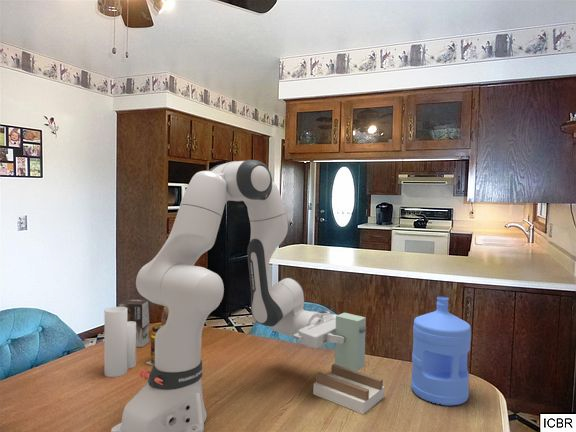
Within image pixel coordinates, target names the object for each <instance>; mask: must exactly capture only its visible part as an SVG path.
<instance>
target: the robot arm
mask: <svg viewBox="0 0 576 432" xmlns="http://www.w3.org/2000/svg"><path fill="white" fill-rule="evenodd" d="M229 201H231V202H232V201H234V202H244V204H245V206H246V207H247V214H248V218H249V223H250V225H249V226H250V239H249V243H248V245H247V264H248V273H249V282H250V283H249V284H250V293H251V294H250V295H251V296H250V297H251V298H250V312H251V315H252V317H253V320H255V322H257V323H258V324H260V325H262V326H264V327H269V328H270V329H271V330H273V331H274V332H276V333H279V334H281V335H285V336H290V337H291V336H292V338H293V339H295V340H297V341H298V342H299V343H300V344H302V345H304V346H306V347H308V348H312V349H318V348H320V347H322V346H324V345H327V344H329V343H330V344H335V343H341V344H343V343H344V342H346V337H345V336H342V335H339V336H338V335H335V334H336V316H337V315H338V314H335V313H331V312H330V311H328V310H321V311H320V310H319V311H312V310H311V311H310V310H305V309H304V308H305V291H304V288H303V286H302V285H301V284H300V283H299V281H297V280H296V279H294V278H291V277H286V278H285V277H284V278H283V279H281V280H280V281H278V282H276V283H275V284H274V285H271V277H270V261H271V259H272V256H273V254H274V253H275V252H276V250H277V249H278V247H279V246H280V245H281V244H282V242H284V240H285V238H286V236H287V234H288V231H289V230H288V229H289V228H288V227H289V224H288V222H289V221H288V218H287V214H286V213H287V212H286V209H285V204H284V202H283V199H282V196H281V193H280V190H279V188H278V186H277V184H276V183H275V182H274V181H273V177H272V174H271V172H270V170H269V168H268V167H267V165H266V164H265V163H264V162H262V161H260V160H255V159H246V160H239V161H237V160H235V161H229V162H225V163H221V164H218V165H214V166H213V167H212V168H210V169H209V170H201V171H198V172H196V173H195V174H194V175H193V176H192V177H191V179H190V182H189V183H188V185H187V186H186V189H185V191H184V194H183V195H182V198H181V201H180V204H179V208H178V210H177V214H176V216H175V220H174V222H173V225H172V228H171V231H170V233H169V234H168V238H166V241H165V242H164V244H163V245H162V247H161V248H160V250H159V251H158V253H157V254H156V255H155V256H154V257H153V258H152V260H150V261H149V262H148V263H146V264H144V265H143V266H142V267H141V268H140V269H139V271H138V273H137V274H136V275H137V276H136V277H135V278H136V280H135V288H136V289H137V292H138V294H139V295H140V296H141V297H143V298H145V300H149V302H150V303H152V304H155V305H159V306H167V307H168V309H169V314H168V318H167V322H166V324H165V325H163V326H162V327H161V328H160V329H159V330H158V331H157V332H156V335H155V363H154V365H152V367H151V370H147V368H141V370H140V371H139V372H138V377H140V378H142V379H143V380H147V382H146V383H145V384H144V386H142V388H140V390H139V391H138V392H137V393H136V394H135V395H134V396H133V397H132V398H131V399H130V400H129V402H127V403H126V405H125V406H124V408H123V411H122V416H121V422H119V423H118V424H116V425H114V426H113V427H111V431H110V432H204V431H205V427H204V425H205V424H204V423H205V422H206V420H207V417H208V416H207V410H206V408H205V403H204V397H203V388H202V377H203V361H202V357H201V355H202V336H203V335H202V334H203V329H204V325H205V323H206V320H207V318H208V316H209V315H210V314H211V313H212V312H213V311H215V310H216V309H217V308H218V307H219V306H220V303H222V300H223V298H224V292H225V291H224V290H225V288H224V286H225V285H224V282H223V279H222V278H221V276H220V275H219V274H218V273H216V272H214V271H212V270H210V269H207V268H206V267H203V266H198V265H196V262H198V260H199V259H200V257H201V256H202V255H203V254H205V253H206V252H208V251H209V250H211V249H212V248H213V247H214V245H215V243H216V240H217V235H218V232H219V230H220V224H221V222H222V218H223V213H224V210H225V205H226V203H227V202H229Z"/></svg>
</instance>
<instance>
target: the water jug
mask: <svg viewBox="0 0 576 432" xmlns="http://www.w3.org/2000/svg"><path fill="white" fill-rule="evenodd" d="M436 299H437V301H436V309H435V310H434V311H431V312H428V313H425V314H422V315H418V316H416V317H415V318H414V319H413V325H412V332H413V333H412V334H413V337H412V338H413V340H412V342H413V343H412V354H411V362H412V363H411V364H412V369H411V370H412V371H411V374H412V375H411V380H410V381H411V382H410V387H411V390H412V392H413V393H414V394H415V395H416V396H417V397H419V398H420V399H422V400H425V401H426V402H428V401H429V403H431V402H432V403H431V404H435V403H436V405H439V404H441V406H459V405H462V404H464V403H466V402H467V401H468V399H469V397H470V396H469V395H470V390H469V389H470V388H469V383H470V381H469V380H470V379H469V378H470V373H469V371H468V353H469V352H470V351H471V341H472V328H471V325H470V324H469V323H468V322H467V321H465V320H463V319H461V318H459V317H458V316H457V315H454V314H452V313H450V311H449V297H446V296H437V297H436Z"/></svg>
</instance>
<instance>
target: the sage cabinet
mask: <svg viewBox="0 0 576 432" xmlns="http://www.w3.org/2000/svg"><path fill="white" fill-rule="evenodd" d="M336 315H337V316H336V334H335V335H338V336H339V335H342V336H345V337H346V342H344V343H343V344H341V343H334V344H335V345H334V364H335V365H338V366H341V367H344V368H347V369H350V370H353V371H356V372H357V371H358V372H359V371H360V370H361V369H363V368H364V367H365V365H366V363H365V362H366V361H365V359H366V356H365V355H366V332H367V327H366V325H367V324H366V323H367V322H366V321H367V318H366V316H361V315H356V314H352V313H348V312H342V313H340V314H336Z"/></svg>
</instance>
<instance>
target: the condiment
mask: <svg viewBox="0 0 576 432" xmlns="http://www.w3.org/2000/svg"><path fill="white" fill-rule="evenodd" d="M162 326H163V324H162V323H161V324H156V325H154V326H152V328H151V329H152V330H151V331H152V332H151V334H150V360H148V361H147V362H146V364H147V365H151V366H153V365H154V363H155V335H156V332H157V331H158V330H159V329H160V328H161V327H162Z"/></svg>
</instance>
